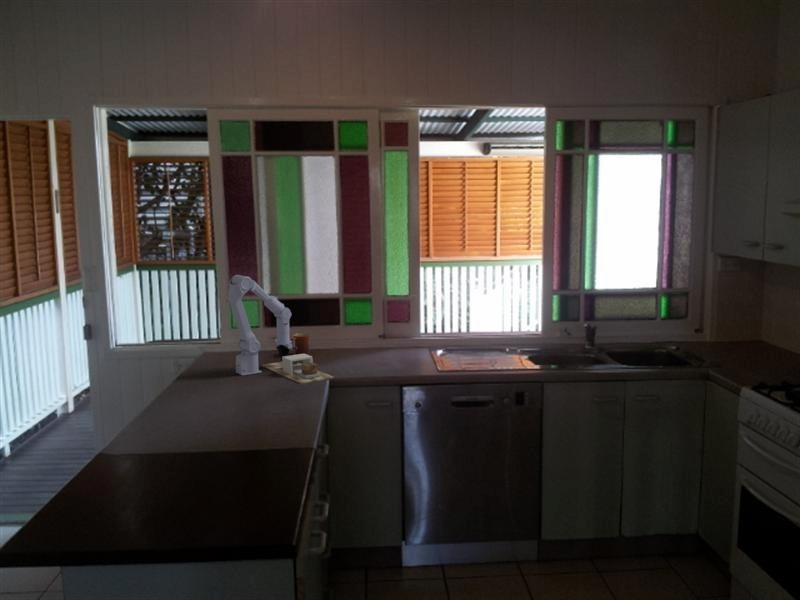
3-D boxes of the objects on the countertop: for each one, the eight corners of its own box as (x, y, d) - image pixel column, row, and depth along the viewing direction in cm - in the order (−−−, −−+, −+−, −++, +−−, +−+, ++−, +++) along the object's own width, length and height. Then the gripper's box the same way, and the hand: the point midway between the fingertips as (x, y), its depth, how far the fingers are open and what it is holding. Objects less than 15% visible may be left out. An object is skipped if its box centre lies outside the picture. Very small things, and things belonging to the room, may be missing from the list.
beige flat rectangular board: (300, 384, 263) (300, 382, 263) (261, 366, 294) (261, 364, 294) (333, 378, 273) (333, 376, 273) (292, 361, 304) (292, 359, 304)
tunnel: (290, 374, 276) (290, 360, 275) (282, 371, 282) (282, 356, 281) (312, 371, 282) (312, 356, 281) (304, 367, 289) (304, 353, 288)
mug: (302, 352, 325) (301, 332, 323) (314, 354, 319) (313, 334, 318) (284, 356, 315) (284, 336, 314) (297, 358, 310) (296, 338, 308)
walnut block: (307, 375, 270) (307, 366, 269) (301, 373, 274) (301, 364, 273) (317, 373, 273) (317, 364, 272) (312, 371, 277) (311, 362, 276)
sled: (306, 378, 268) (306, 369, 268) (282, 368, 287) (282, 359, 286) (320, 376, 272) (320, 367, 272) (296, 365, 291) (296, 357, 290)
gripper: (298, 333, 288) (298, 362, 290) (284, 329, 299) (284, 357, 301) (284, 335, 284) (284, 364, 285) (270, 330, 295) (271, 359, 297)
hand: (283, 361), depth 293 cm, fingers closed
